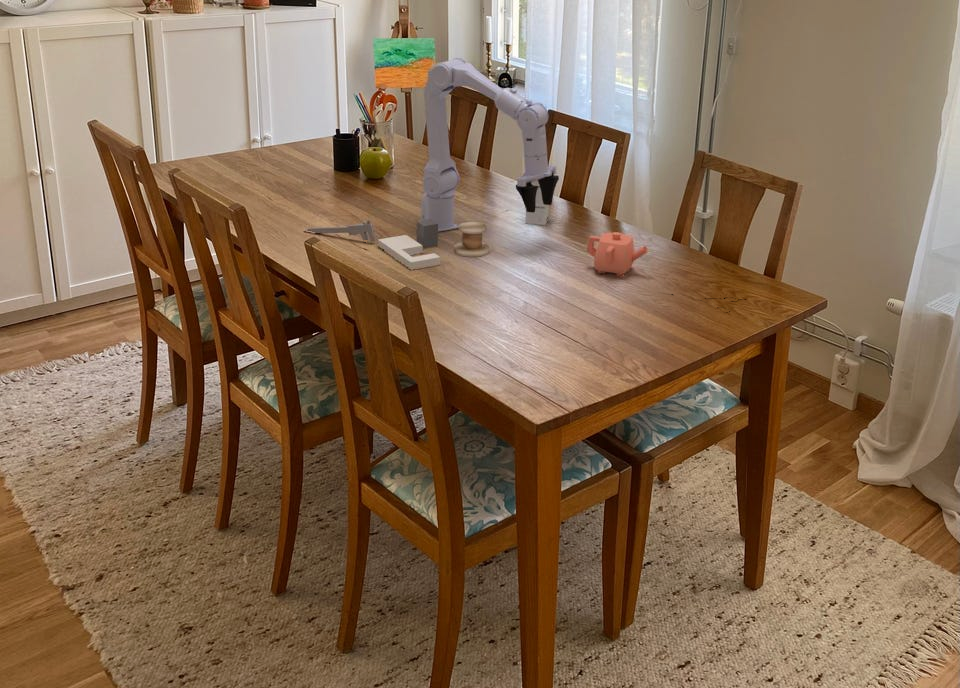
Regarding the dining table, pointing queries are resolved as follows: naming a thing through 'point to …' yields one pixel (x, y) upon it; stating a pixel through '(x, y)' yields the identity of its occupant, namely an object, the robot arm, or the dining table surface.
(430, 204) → the robot arm
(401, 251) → the notched board
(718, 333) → the dining table surface
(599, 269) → the teapot
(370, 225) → the caliper
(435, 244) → the block
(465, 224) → the bobbin
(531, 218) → the syrup box
